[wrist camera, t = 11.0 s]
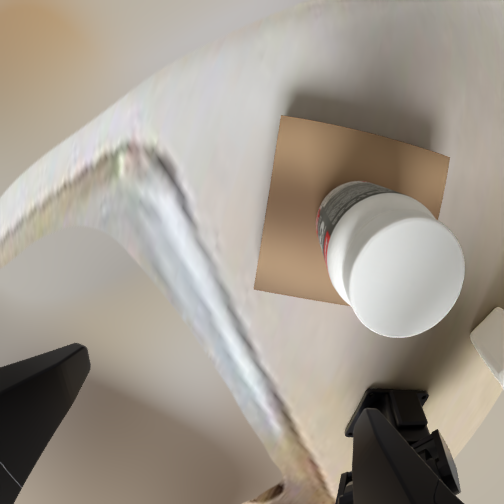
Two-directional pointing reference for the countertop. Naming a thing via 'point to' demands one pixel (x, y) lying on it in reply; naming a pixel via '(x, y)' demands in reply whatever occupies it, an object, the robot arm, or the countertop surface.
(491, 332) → the pepper shaker
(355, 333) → the countertop surface
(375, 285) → the pill bottle
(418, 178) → the brown square block
